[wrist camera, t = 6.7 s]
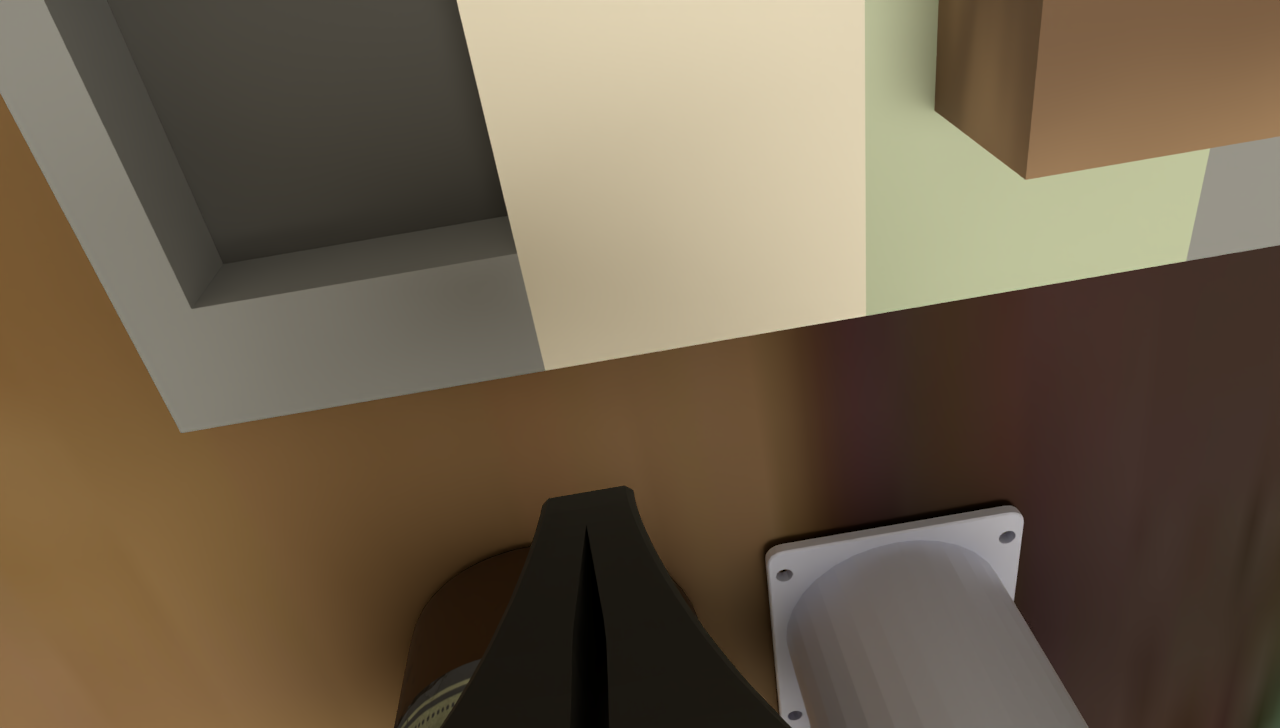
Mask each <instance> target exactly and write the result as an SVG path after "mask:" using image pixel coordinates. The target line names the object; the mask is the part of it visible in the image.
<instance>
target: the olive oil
mask: <svg viewBox="0 0 1280 728" xmlns="http://www.w3.org/2000/svg"><path fill="white" fill-rule="evenodd" d="M529 550H530V547H527V548H522V549H517V550H513V551H510V552H506V553H503V554H500V555H497V556H494V557H491V558H489V559H486V560H484V561H482V562H480V563H477V564H475V565H473V566H472V567H470V568H468V569H466V570H464V571H463V572H461V573H460V574H458V575H457V576H455V577H454V578H452V579H451V580H450V581H449V582H447V583H446V584H445V585H444V586H443V587H442V588H441V589H440V590H439V591H438V592H437V593H436V594H435V595H434V596H433V597H432V598H431V600H430V601H429V602H428V604H427V605H426V606H425V608H424V610H423V611H422V613H421V615H420V617H419V619H418V622H417V624H416V627H415V629H414V633H413V636H412V640H411V645H410V649H409V654H408V659H407V664H406V669H405V674H404V680H403V685H402V690H401V695H400V700H399V705H398V710H397V715H396V721H395V726H394V728H440V726H441V725H442V723H443V722H444V720H445V719H446V717H447V716H448V714H449V713H450V711H451V710H452V708H453V707H454V705H455V703H456V702H457V700H458V698H459V697H460V695H461V693H462V692H463V690H464V688H465V687H466V685H467V683H468V682H469V680H470V678H471V677H472V675H473V673H474V671H475V669H476V668H477V666H478V664H479V662H480V660H481V658H482V657H483V655H484V653H485V651H486V649H487V647H488V645H489V643H490V641H491V639H492V637H493V635H494V633H495V630H496V628H497V626H498V624H499V622H500V620H501V618H502V616H503V614H504V612H505V610H506V608H507V605H508V603H509V601H510V598H511V596H512V594H513V591H514V589H515V586H516V584H517V581H518V579H519V576H520V574H521V572H522V569H523V567H524V564H525V561H526V558H527V556H528V553H529ZM672 581H673V580H672ZM673 582H674V581H673ZM674 584H675V586H676V587H677V589H678V590H679V592H680V594H681V595H682V597H683V598H684V600H685V601H686V603H687V604H688V606H689V607H690V609H691V610H692V612H693V613H694V615H695V616H696V618H697V615H696V613H695V611H694V609H693V606H692V604H691V603H690V601H689V599H688V598H687V596H686V595H685V593H684V592H683V591H682V590H681V588H680V587H679V586H678V585H677V584H676V583H675V582H674ZM697 619H698V618H697Z"/></svg>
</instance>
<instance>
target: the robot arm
mask: <svg viewBox="0 0 1280 728" xmlns="http://www.w3.org/2000/svg"><path fill="white" fill-rule="evenodd" d="M1023 524H1024V519H1023V516H1022V515H1021V513H1020V512H1019V510H1018V509H1017V508H1016V507H1013V506H1000V507H994V508H989V509H983V510H977V511H971V512H965V513H959V514H954V515H948V516H942V517H936V518H930V519H925V520H919V521H913V522H907V523H901V524H895V525H890V526H884V527H878V528H872V529H866V530H861V531H855V532H849V533H843V534H837V535H831V536H826V537H820V538H814V539H808V540H802V541H796V542H791V543H785V544H779V545H776V546H774V547H772V548H771V549H769V551H768V552H767V553H766V557H765V562H766V573H767V584H768V595H769V606H770V617H771V628H772V639H773V650H774V661H775V672H776V683H777V694H778V705H779V714H778V713H777V712H776V711H775V710H774V709H773V708H772V707H771V706H770V705H769V704H768V703H767V702H766V701H765V700H764V699H763V698H762V697H761V696H760V695H759V694H758V692H757V691H756V690H755V689H754V688H753V687H752V686H751V685H750V684H749V683H748V682H747V681H746V679H745V678H744V677H743V676H742V675H741V674H740V672H739V671H738V670H737V669H736V668H735V667H734V665H733V664H732V663H731V662H730V661H729V660H728V658H727V657H726V656H725V655H724V653H723V652H722V651H721V650H720V648H719V647H718V646H717V645H716V643H715V642H714V641H713V639H712V638H711V637H710V635H709V634H708V633H707V631H706V630H705V629H704V627H703V626H702V625H701V623H700V622H699V620H698V619H697V618H696V616H695V615H694V613H693V612H692V610H691V609H690V607H689V606H688V604H687V603H686V601H685V600H684V598H683V597H682V595H681V594H680V592H679V590H678V589H677V587H676V586H675V584H674V582H673V581H672V579H671V577H670V575H669V574H668V572H667V570H666V569H665V567H664V565H663V563H662V562H661V560H660V558H659V556H658V554H657V552H656V551H655V549H654V547H653V545H652V543H651V541H650V538H649V536H648V534H647V532H646V530H645V527H644V525H643V523H642V520H641V518H640V515H639V512H638V509H637V506H636V502H635V497H634V492H633V490H632V489H630V488H628V487H627V486H620V487H614V488H608V489H602V490H596V491H591V492H585V493H579V494H573V495H567V496H561V497H555V498H549V499H548V500H547V501H546V502H545V503H544V504H543V506H542V510H541V515H540V518H539V522H538V525H537V529H536V532H535V535H534V538H533V541H532V544H531V547H530V550H529V553H528V556H527V558H526V561H525V564H524V567H523V569H522V572H521V574H520V576H519V579H518V581H517V584H516V586H515V589H514V591H513V594H512V596H511V598H510V601H509V603H508V605H507V608H506V610H505V612H504V614H503V616H502V618H501V620H500V622H499V624H498V626H497V628H496V630H495V633H494V635H493V637H492V639H491V641H490V643H489V645H488V647H487V649H486V651H485V653H484V655H483V657H482V658H481V660H480V662H479V664H478V666H477V668H476V669H475V671H474V673H473V675H472V677H471V678H470V680H469V682H468V683H467V685H466V687H465V688H464V690H463V692H462V693H461V695H460V697H459V698H458V700H457V702H456V703H455V705H454V707H453V708H452V710H451V711H450V713H449V714H448V716H447V717H446V719H445V720H444V722H443V723H442V725H441V726H440V728H1089V727H1088V726H1087V724H1086V722H1085V721H1084V719H1083V717H1082V716H1081V714H1080V712H1079V710H1078V709H1077V707H1076V705H1075V704H1074V702H1073V700H1072V699H1071V697H1070V695H1069V694H1068V692H1067V690H1066V689H1065V687H1064V685H1063V684H1062V682H1061V680H1060V679H1059V677H1058V675H1057V674H1056V672H1055V670H1054V669H1053V667H1052V665H1051V664H1050V662H1049V660H1048V659H1047V657H1046V655H1045V654H1044V652H1043V650H1042V648H1041V647H1040V645H1039V643H1038V642H1037V640H1036V638H1035V637H1034V635H1033V633H1032V632H1031V630H1030V628H1029V627H1028V625H1027V623H1026V622H1025V620H1024V618H1023V617H1022V615H1021V613H1020V612H1019V610H1018V608H1017V607H1016V605H1015V603H1014V596H1015V588H1016V580H1017V572H1018V564H1019V556H1020V548H1021V540H1022V532H1023ZM1006 531H1007V532H1006ZM1004 532H1006V533H1004ZM1002 533H1004V534H1002ZM784 569H788V570H787V571H784V572H779V571H781V570H784Z"/></svg>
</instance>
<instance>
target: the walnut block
mask: <svg viewBox="0 0 1280 728" xmlns="http://www.w3.org/2000/svg"><path fill="white" fill-rule="evenodd" d="M934 111H935V112H937V113H938V114H939V115H941V116H942V117H943V118H945V119H946V120H947V121H949V122H950V123H951V124H953V125H954V126H955V127H957V128H958V129H959V130H960V131H962V132H963V133H964V134H966V135H967V136H968V137H970V138H971V139H972V140H974V141H975V142H976V143H978V144H979V145H980V146H982V147H983V148H984V149H986V150H987V151H988V152H989V153H991V154H992V155H993V156H995V157H996V158H997V159H999V160H1000V161H1001V162H1003V163H1004V164H1005V165H1007V166H1008V167H1009V168H1011V169H1012V170H1013V171H1014V172H1016V173H1017V174H1018V175H1020V176H1021V177H1022V178H1024V179H1025V180H1028V179H1034V178H1040V177H1045V176H1051V175H1057V174H1063V173H1069V172H1075V171H1081V170H1086V169H1092V168H1098V167H1104V166H1110V165H1116V164H1121V163H1127V162H1133V161H1139V160H1145V159H1151V158H1156V157H1162V156H1168V155H1174V154H1180V153H1186V152H1192V151H1197V150H1203V149H1209V148H1215V147H1221V146H1227V145H1232V144H1238V143H1244V142H1250V141H1256V140H1262V139H1268V138H1273V137H1279V136H1280V0H939V4H938V30H937V56H936V82H935V108H934Z"/></svg>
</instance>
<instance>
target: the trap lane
mask: <svg viewBox="0 0 1280 728" xmlns="http://www.w3.org/2000/svg"><path fill="white" fill-rule="evenodd" d="M938 4H939V0H0V93H1V95H2V97H3V99H4V101H5V103H6V105H7V107H8V108H9V110H10V112H11V114H12V116H13V118H14V120H15V122H16V123H17V125H18V127H19V129H20V131H21V133H22V135H23V137H24V139H25V140H26V142H27V144H28V146H29V148H30V150H31V152H32V154H33V155H34V157H35V159H36V161H37V163H38V165H39V167H40V169H41V171H42V172H43V174H44V176H45V178H46V180H47V182H48V184H49V186H50V187H51V189H52V191H53V193H54V195H55V197H56V199H57V201H58V203H59V204H60V206H61V208H62V210H63V212H64V214H65V216H66V218H67V219H68V221H69V223H70V225H71V227H72V229H73V231H74V233H75V234H76V236H77V238H78V240H79V242H80V244H81V246H82V248H83V250H84V251H85V253H86V255H87V257H88V259H89V261H90V263H91V265H92V266H93V268H94V270H95V272H96V274H97V276H98V278H99V280H100V282H101V283H102V285H103V287H104V289H105V291H106V293H107V295H108V297H109V298H110V300H111V302H112V304H113V306H114V308H115V310H116V312H117V313H118V315H119V317H120V319H121V321H122V323H123V325H124V327H125V329H126V330H127V332H128V334H129V336H130V338H131V340H132V342H133V344H134V345H135V347H136V349H137V351H138V353H139V355H140V357H141V359H142V361H143V362H144V364H145V366H146V368H147V370H148V372H149V374H150V376H151V377H152V379H153V381H154V383H155V385H156V387H157V389H158V391H159V393H160V394H161V396H162V398H163V400H164V402H165V404H166V406H167V408H168V409H169V411H170V413H171V415H172V417H173V419H174V421H175V423H176V424H177V426H178V428H179V430H180V432H181V433H184V432H190V431H196V430H202V429H208V428H213V427H219V426H225V425H231V424H237V423H243V422H248V421H254V420H260V419H266V418H272V417H278V416H284V415H289V414H295V413H301V412H307V411H313V410H319V409H324V408H330V407H336V406H342V405H348V404H354V403H360V402H365V401H371V400H377V399H383V398H389V397H395V396H400V395H406V394H412V393H418V392H424V391H430V390H435V389H441V388H447V387H453V386H459V385H465V384H471V383H476V382H482V381H488V380H494V379H500V378H506V377H511V376H517V375H523V374H529V373H535V372H541V371H546V370H552V369H558V368H564V367H570V366H576V365H582V364H587V363H593V362H599V361H605V360H611V359H617V358H622V357H628V356H634V355H640V354H646V353H652V352H658V351H663V350H669V349H675V348H681V347H687V346H693V345H698V344H704V343H710V342H716V341H722V340H728V339H733V338H739V337H745V336H751V335H757V334H763V333H769V332H774V331H780V330H786V329H792V328H798V327H804V326H809V325H815V324H821V323H827V322H833V321H839V320H844V319H850V318H856V317H862V316H868V315H874V314H880V313H885V312H891V311H897V310H903V309H909V308H915V307H920V306H926V305H932V304H938V303H944V302H950V301H956V300H961V299H967V298H973V297H979V296H985V295H991V294H996V293H1002V292H1008V291H1014V290H1020V289H1026V288H1031V287H1037V286H1043V285H1049V284H1055V283H1061V282H1067V281H1072V280H1078V279H1084V278H1090V277H1096V276H1102V275H1107V274H1113V273H1119V272H1125V271H1131V270H1137V269H1142V268H1148V267H1154V266H1160V265H1166V264H1172V263H1178V262H1183V261H1189V260H1195V259H1201V258H1207V257H1213V256H1218V255H1224V254H1230V253H1236V252H1242V251H1248V250H1254V249H1259V248H1265V247H1271V246H1277V245H1280V136H1279V137H1273V138H1268V139H1262V140H1256V141H1250V142H1244V143H1238V144H1232V145H1227V146H1221V147H1215V148H1209V149H1203V150H1197V151H1192V152H1186V153H1180V154H1174V155H1168V156H1162V157H1156V158H1151V159H1145V160H1139V161H1133V162H1127V163H1121V164H1116V165H1110V166H1104V167H1098V168H1092V169H1086V170H1081V171H1075V172H1069V173H1063V174H1057V175H1051V176H1045V177H1040V178H1034V179H1028V180H1025V179H1024V178H1022V177H1021V176H1020V175H1018V174H1017V173H1016V172H1014V171H1013V170H1012V169H1011V168H1009V167H1008V166H1007V165H1005V164H1004V163H1003V162H1001V161H1000V160H999V159H997V158H996V157H995V156H993V155H992V154H991V153H989V152H988V151H987V150H986V149H984V148H983V147H982V146H980V145H979V144H978V143H976V142H975V141H974V140H972V139H971V138H970V137H968V136H967V135H966V134H964V133H963V132H962V131H960V130H959V129H958V128H957V127H955V126H954V125H953V124H951V123H950V122H949V121H947V120H946V119H945V118H943V117H942V116H941V115H939V114H938V113H937V112H935V111H934V108H935V82H936V56H937V30H938Z"/></svg>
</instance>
